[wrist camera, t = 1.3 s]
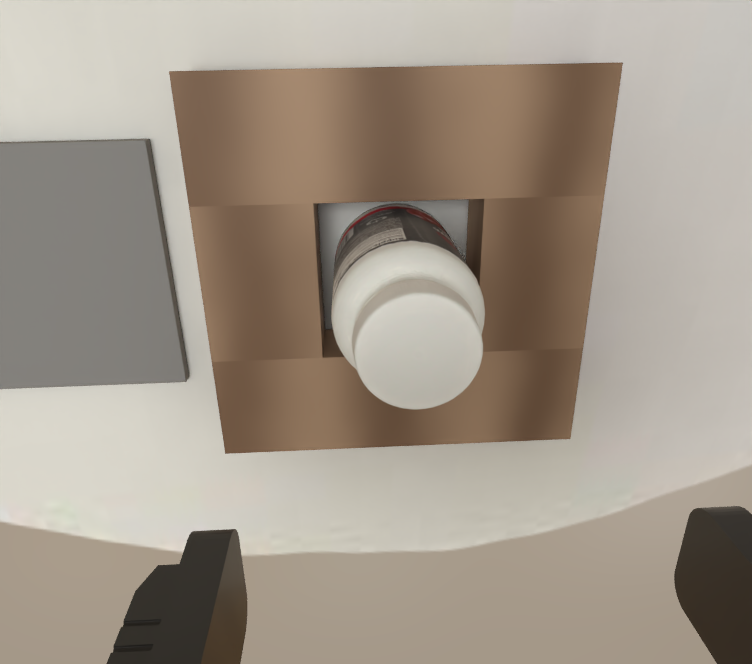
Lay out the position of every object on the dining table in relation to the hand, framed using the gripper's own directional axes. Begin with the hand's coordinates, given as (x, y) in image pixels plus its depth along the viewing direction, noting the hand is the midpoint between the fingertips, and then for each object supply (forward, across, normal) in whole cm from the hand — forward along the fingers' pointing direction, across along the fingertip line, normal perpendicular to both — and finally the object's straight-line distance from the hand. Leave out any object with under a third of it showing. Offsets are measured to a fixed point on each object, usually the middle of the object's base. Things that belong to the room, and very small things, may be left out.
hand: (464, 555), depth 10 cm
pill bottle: (+18, 0, 0) cm, 18 cm away
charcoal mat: (+18, +15, 0) cm, 24 cm away
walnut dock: (+18, 0, 0) cm, 18 cm away
